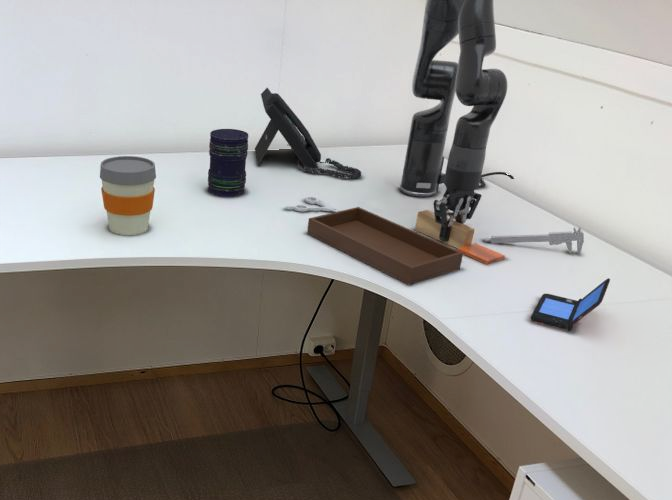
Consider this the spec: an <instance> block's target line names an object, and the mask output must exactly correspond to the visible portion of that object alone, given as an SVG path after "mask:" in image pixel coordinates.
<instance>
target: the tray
mask: <svg viewBox="0 0 672 500" xmlns="http://www.w3.org/2000/svg"><path fill="white" fill-rule="evenodd" d="M342 210H343V211H338V212H330V213H326V214H321V215H317V216H313V217H309V218H308V222H307V233H306V234H307V235H309V236H311V237H313V238H315V239H316V240H319V241H321V242H322V243H324V244H327V245H328V246H331V247H332V248H335V249H337V250H339V251H340V252H343V253H344V254H347V255H349V256H351V257H353V258H354V259H356V260H358V261H360V262H363V263H364V264H366V265H368V266H370V267H372V268H374V269H376V270H378V271H380V272H382V273H384V274H386V275H389V277H392V278H394V279H396V280H398V281H400V282H402V283H403V284H405V285H408V286H411V285H414V284H417V283H419V282H423V281H427V280H429V279H433V278H436V277H440V276H442V275H446V274H449V273H452V272H455V271H459V270H460V269H461V265H462V261H463V258H464V257H463V256H464V254H463V253H462V252H460V251H458V249H457V248H454V247H452V246H450V245H448V244H445V243H443V242H441V241H437V240H436V239H434V238H432V237H429V236H427V235H425V234H422V233H420V232H418V231H416V230H412V229H410V228H408V227H405V226H403V225H401V224H398V223H397V222H394V221H392V220H389V219H387V218H385V217H383V216H380V215H378V214H375V213H374V212H371V211H368V210H366V209H364V208H362V207H360V206H356V207H352V208H348V209H342Z"/></svg>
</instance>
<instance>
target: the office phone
mask: <svg viewBox="0 0 672 500" xmlns="http://www.w3.org/2000/svg"><path fill="white" fill-rule="evenodd" d="M260 97H261V102H262V105H263V109H264V111H265V113H266V115H267V116H268V118H269V119H270V120H269V122H268V123H267V125H266V127H265V129H264V131H263V133H262V134H261V136H260V138H259V140H258V142H257V143H256V144H255V145H256V146H255V147H254V153H255V156H256V162H257V166H258V167H259V165H260V164H261V162H262V160H263V159H264V157H265V155H266V153H267V151H268V150H269V148H270V146H271V145H272V142H273V141H274V139H275V137H276V136H277V134H278V132H279V133H280V134H281V136H282V137H283V139H284V140H285V141H286V142H287V144H288V146H289V147H290V148H291V149H292V151H293V152H294V154H295V155H296V157H297V158H298V160H297V166H298V167H297V168H298V169H301V170H303V171H304V172H307V173H309V174H321V175H324V174H325V175H328V176H335V178H337V177H340V178H342V179H349V180H352V179H357V178H358V179H359V178H360V177H362V170H360V169H358V168H357V167H354V166H348V165H344V164H342V163H340V162H339V161H337V160H335V159H331V158H330V157H328V158H326V159H325V161H324V162H323V161H322V154H321V152H320V150H319V148H318V146H317V145H316V143H315V141H314V139H313V137H312V136H311V134H310V132H309V131H308V129H307V128H306V126H305V125H304V123H303V122H302V121H301V119H300V118H299V117H298V115H296V113H295V112H294V111H293V110H292V108H291V107H290V105H288V104H287V102H286V101H285V100H284V99H283V98H282V96H281V95H280V94H279V93H277V92H275V93H273V92H271V90H270V88H268V87H266V88H265V89H264V90H263V91H262V92H261V94H260ZM300 162H301V163H302V165H303V167H302V166H301V164H300ZM318 163H319V164H328V165H332V166H333V167H335V168H337V169H338V170H341V171H338V170H334V169H329V168H319V166H318Z"/></svg>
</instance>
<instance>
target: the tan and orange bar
mask: <svg viewBox="0 0 672 500" xmlns="http://www.w3.org/2000/svg"><path fill="white" fill-rule="evenodd" d="M440 218H441V217H440ZM447 220H449V217H447ZM440 230H441V224H439V223H437V222H435V214H434V211H431V210H429V209H425V210H420V211H417V216H416V221H415V227H414V231H415V232H418V233H420V234H422V235H424V236H427V237H429V238H431V239H434V240H436V241H437V240H438V242H441V243H443V244H445V245H447V246H450V247H452V248H454V249H457V250H458V251H460V252H462V253H463V256H467V257H469V258H472V259H474V260H476V261H478V262H480V263H482V264H485V265H489V264H492V263H496V262H498V261H501V260H504V259H505V257H506V255H505V254H502V253H500V252H498V251H495V250H492V249H491V248H488V247H486V246H484V245H481V244H478V243H476V242H475V243H473V239H474V234H475V231H476V229H475V228H474V227H471V226H469V225H466V224H465V223H464V224H461V223H459V222H456V220H455V219H454V220H453V223H452V226H451V232H450V237H449V241H447V242H444V241H442V240H440V239H439V234H440Z"/></svg>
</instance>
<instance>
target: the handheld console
mask: <svg viewBox="0 0 672 500" xmlns="http://www.w3.org/2000/svg"><path fill="white" fill-rule="evenodd" d="M610 282H611V278H610V277H609V278H606V279H605V280H603V281H602V282H601V283H600V284H598V286H596V287H594V289H592V290H591V291H590V292H589V293H588V294H586V295H585V296H584V297H582V298H579V299H578V300H576V299H571V298H568V297H564V296H559V295H556V294H555V295H554V294H551V293H543V294H542V295H541V297H540V299H539V300H538V302H537V304H536V306H535V307H534V309H533V311H532V313H531V315H530V320H531V321H532V322H534V323H537V324H540V325H541V324H542V325H545V326H548V327H553V328H556V329H561V330H565V331H567V332H572V331H573V327H574V325H576V324H577V323H578V322H579V321H581V320H582V319H583V318H584V317H586V316H587V315H588V314H590V313H591V312H592V311H594V310H595V309H596V308H598V307H599V306H600V305H601V304H602V302H603V301H604V297H605V295H606V292H607V290H608V287H609V285H610Z"/></svg>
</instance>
